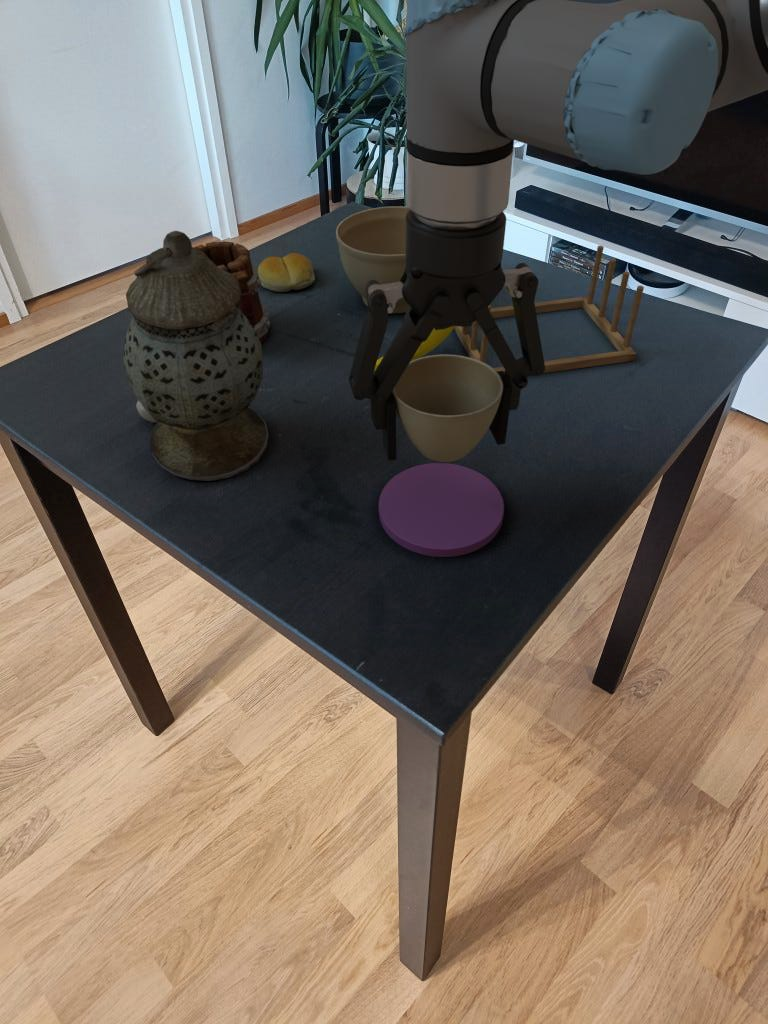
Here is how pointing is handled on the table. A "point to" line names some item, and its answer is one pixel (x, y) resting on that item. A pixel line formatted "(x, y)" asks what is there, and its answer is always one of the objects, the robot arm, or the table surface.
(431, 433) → the flower pot
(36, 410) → the table surface
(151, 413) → the lantern
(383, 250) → the planter bowl
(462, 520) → the lid
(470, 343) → the rack
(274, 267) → the bread roll
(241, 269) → the mug
